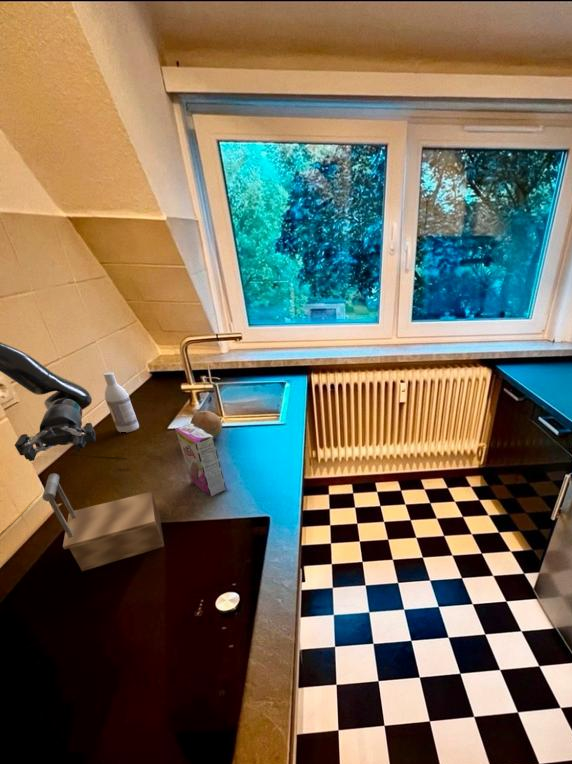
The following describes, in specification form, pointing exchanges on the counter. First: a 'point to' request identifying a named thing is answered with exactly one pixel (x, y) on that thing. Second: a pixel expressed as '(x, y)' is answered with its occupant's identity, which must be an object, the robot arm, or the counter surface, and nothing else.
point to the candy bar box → (201, 459)
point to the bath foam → (120, 405)
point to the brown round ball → (208, 422)
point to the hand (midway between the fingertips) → (53, 452)
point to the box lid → (100, 516)
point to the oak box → (120, 545)
